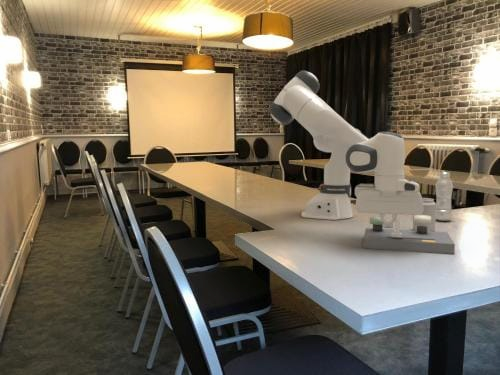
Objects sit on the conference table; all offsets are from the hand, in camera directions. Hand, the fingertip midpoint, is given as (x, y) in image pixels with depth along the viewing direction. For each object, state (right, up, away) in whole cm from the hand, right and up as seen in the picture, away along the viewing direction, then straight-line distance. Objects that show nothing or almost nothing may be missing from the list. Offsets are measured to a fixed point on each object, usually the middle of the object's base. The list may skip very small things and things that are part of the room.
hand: (388, 227), depth 131 cm
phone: (+14, +4, +85) cm, 87 cm away
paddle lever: (+3, -3, 0) cm, 4 cm away
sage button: (0, 0, +10) cm, 10 cm away
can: (+20, -4, +22) cm, 30 cm away
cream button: (+13, +1, +5) cm, 14 cm away
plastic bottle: (+35, -1, +39) cm, 52 cm away
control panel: (+7, -6, +3) cm, 9 cm away
